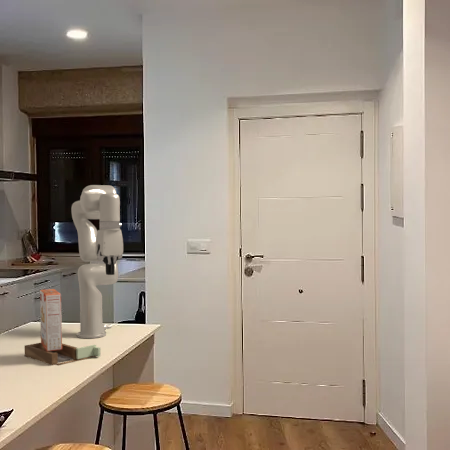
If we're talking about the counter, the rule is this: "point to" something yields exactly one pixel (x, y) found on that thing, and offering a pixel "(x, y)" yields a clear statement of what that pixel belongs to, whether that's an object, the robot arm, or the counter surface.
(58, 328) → the cracker box
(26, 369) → the counter surface
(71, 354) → the box
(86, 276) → the robot arm
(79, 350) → the pale green l-shaped block
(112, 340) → the counter surface
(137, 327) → the counter surface
